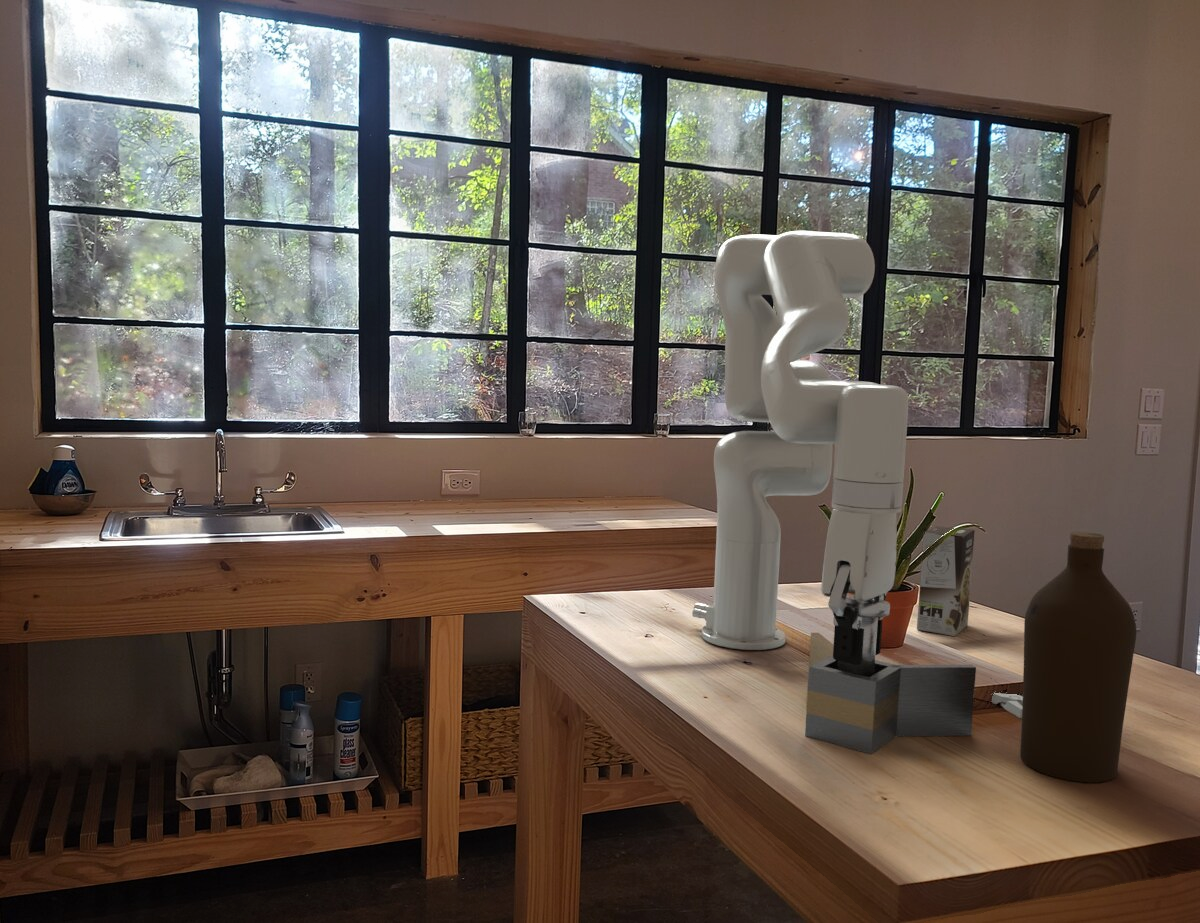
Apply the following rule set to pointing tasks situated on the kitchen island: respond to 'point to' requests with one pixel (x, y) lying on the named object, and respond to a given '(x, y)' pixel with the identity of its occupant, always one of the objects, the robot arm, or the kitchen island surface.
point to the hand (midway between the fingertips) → (856, 655)
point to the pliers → (1009, 702)
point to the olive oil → (1076, 669)
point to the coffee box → (946, 582)
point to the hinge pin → (867, 636)
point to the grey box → (885, 701)
